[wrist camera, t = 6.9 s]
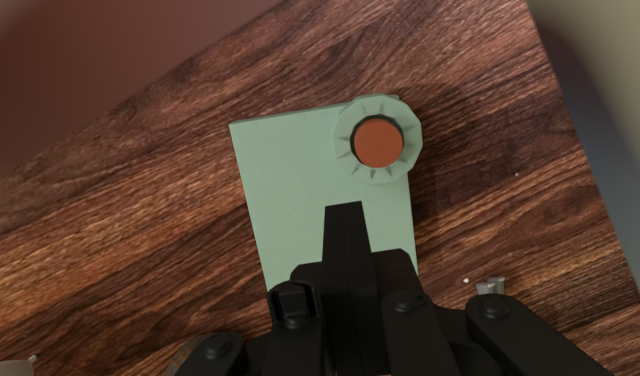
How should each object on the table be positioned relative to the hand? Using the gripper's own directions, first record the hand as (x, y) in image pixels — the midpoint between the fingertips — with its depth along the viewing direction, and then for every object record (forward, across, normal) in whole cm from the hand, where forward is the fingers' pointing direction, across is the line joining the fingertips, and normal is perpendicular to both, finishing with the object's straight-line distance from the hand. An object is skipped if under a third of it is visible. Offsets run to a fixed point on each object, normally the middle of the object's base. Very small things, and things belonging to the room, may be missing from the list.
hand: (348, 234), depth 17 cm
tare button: (+12, +2, +1) cm, 12 cm away
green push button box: (+15, -2, -3) cm, 15 cm away
